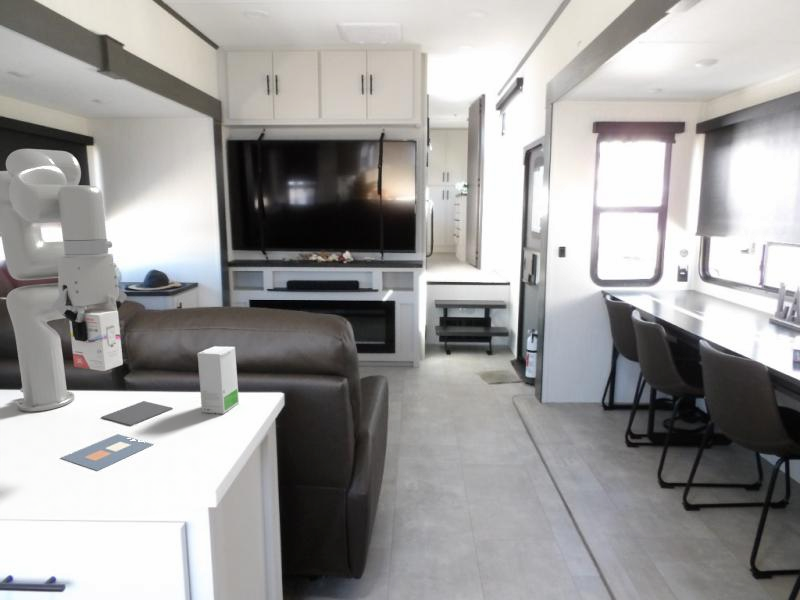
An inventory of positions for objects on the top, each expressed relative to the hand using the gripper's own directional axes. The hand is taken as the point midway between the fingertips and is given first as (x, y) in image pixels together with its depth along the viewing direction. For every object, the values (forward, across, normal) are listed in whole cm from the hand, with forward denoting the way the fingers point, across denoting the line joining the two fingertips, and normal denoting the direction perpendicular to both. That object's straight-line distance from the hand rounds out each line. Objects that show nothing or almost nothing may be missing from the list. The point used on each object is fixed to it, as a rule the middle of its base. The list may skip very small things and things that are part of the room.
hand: (95, 336), depth 109 cm
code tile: (+25, 0, 0) cm, 25 cm away
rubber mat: (+25, -17, -13) cm, 33 cm away
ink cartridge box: (+7, 0, 0) cm, 7 cm away
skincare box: (+25, -29, +3) cm, 39 cm away
